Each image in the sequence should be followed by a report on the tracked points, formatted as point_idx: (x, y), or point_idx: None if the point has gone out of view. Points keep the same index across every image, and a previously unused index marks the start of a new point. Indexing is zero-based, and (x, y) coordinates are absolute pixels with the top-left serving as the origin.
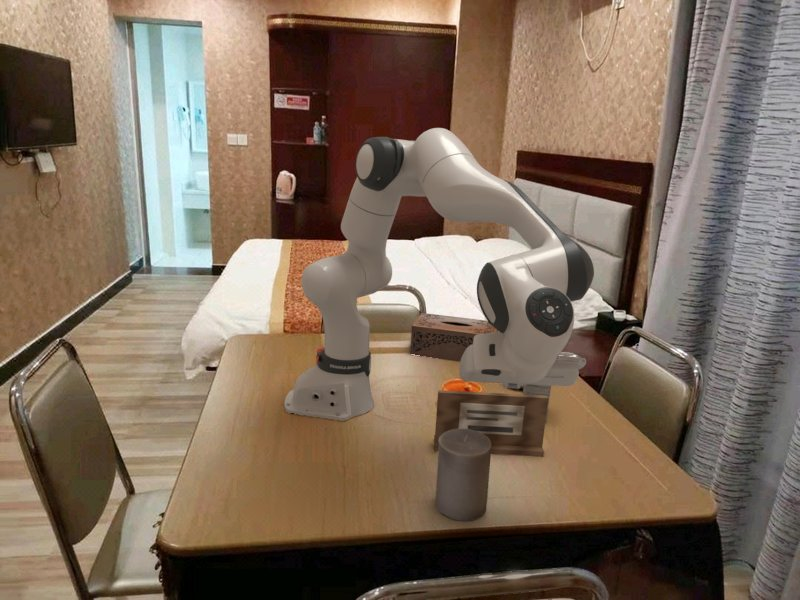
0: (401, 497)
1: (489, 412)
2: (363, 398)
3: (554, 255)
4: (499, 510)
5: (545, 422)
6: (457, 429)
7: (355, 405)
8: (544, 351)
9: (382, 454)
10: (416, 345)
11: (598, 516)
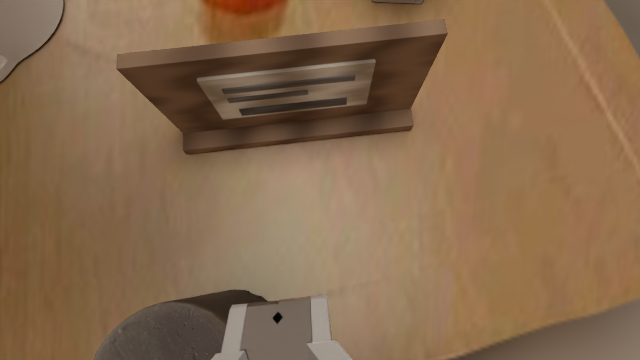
0: None
1: (282, 86)
2: (13, 17)
3: None
4: None
5: (421, 3)
6: (147, 315)
7: (3, 41)
8: None
9: (79, 189)
10: None
11: (512, 327)
